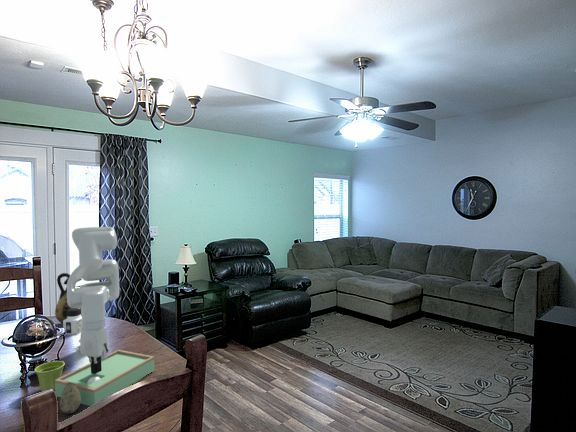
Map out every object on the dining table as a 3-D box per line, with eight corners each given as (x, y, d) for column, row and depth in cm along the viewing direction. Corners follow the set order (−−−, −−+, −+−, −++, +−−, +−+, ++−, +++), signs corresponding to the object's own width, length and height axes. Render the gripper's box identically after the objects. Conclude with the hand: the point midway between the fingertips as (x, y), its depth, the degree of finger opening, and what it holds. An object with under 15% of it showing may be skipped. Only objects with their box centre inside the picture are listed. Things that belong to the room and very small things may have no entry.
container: (77, 334, 191) (76, 310, 190) (63, 334, 191) (62, 310, 191) (85, 329, 199) (84, 306, 198) (72, 329, 199) (71, 306, 198)
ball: (86, 374, 133) (97, 377, 137) (81, 389, 130) (92, 391, 134) (95, 375, 131) (106, 377, 134) (90, 390, 128) (101, 392, 132)
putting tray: (55, 396, 129) (54, 379, 129) (119, 363, 155) (118, 349, 155) (94, 407, 122) (94, 390, 121) (154, 370, 148) (154, 356, 147)
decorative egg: (72, 418, 116) (70, 388, 115) (55, 417, 117) (54, 387, 116) (85, 408, 121) (84, 379, 121) (70, 406, 123) (68, 378, 122)
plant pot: (45, 383, 139) (44, 361, 139) (70, 381, 140) (69, 360, 140) (30, 396, 130) (28, 372, 130) (57, 394, 131) (56, 371, 130)
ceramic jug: (89, 318, 218) (86, 269, 217) (83, 326, 204) (81, 274, 202) (56, 321, 213) (54, 271, 211) (48, 330, 198) (46, 277, 197)
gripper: (70, 325, 132) (73, 373, 133) (99, 329, 127) (102, 380, 127) (89, 318, 139) (91, 364, 140) (117, 323, 133) (119, 371, 134)
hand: (96, 372), depth 134 cm, fingers closed
